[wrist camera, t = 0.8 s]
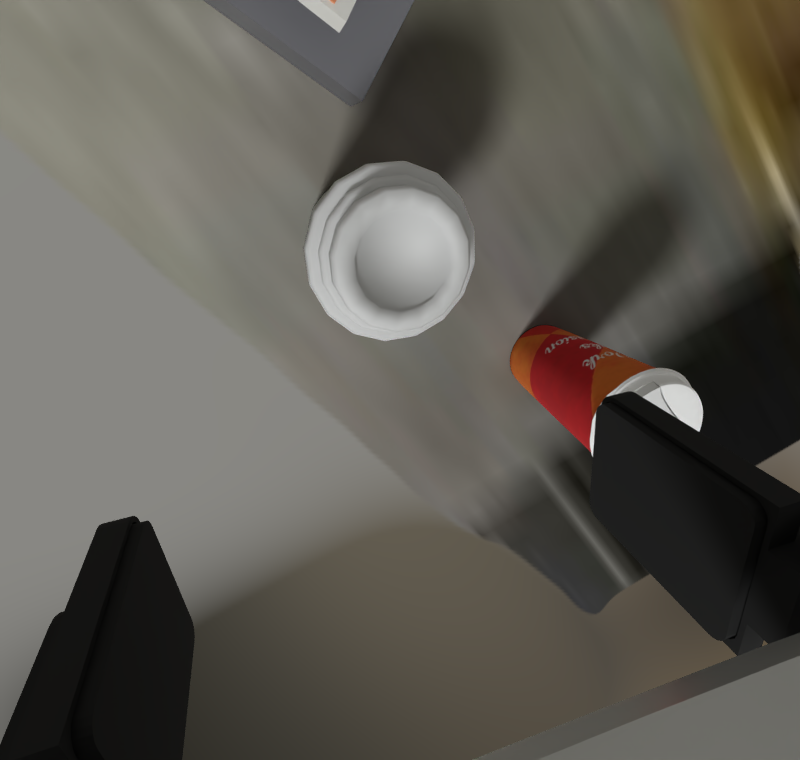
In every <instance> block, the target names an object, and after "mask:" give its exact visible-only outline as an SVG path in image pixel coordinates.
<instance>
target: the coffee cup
mask: <svg viewBox="0 0 800 760" xmlns="http://www.w3.org/2000/svg"><path fill="white" fill-rule="evenodd" d="M303 249H304V256H305V262H306V269H307V276H308V282H309V285H310V286H311V288H312V290H313V291H314V293H315V295H316V296H317V298H318V300H319V301H320V303H321V305H322V306H323V308H324V310H325V311H326V313H327V315H328V316H330V317H331V318H333V319H334V320H335V321H337V322H338V323H340V324H341V325H342V326H344V327H345V328H346V329H348V330H349V331H351V332H352V333H353V334H356V335H361V336H365V337H370V338H374V339H378V340H383V341H388V340H393V339H399V338H405V337H411V336H416V335H418V334H420V333H421V332H423V331H425V330H426V329H428V328H430V327H432V326H433V325H435V324H437V323H438V322H440V321H442V320H443V319H444V318H445V317H446V316H447V314H448V313H449V312H450V311H451V309H452V308H453V307H454V306H455V305H456V303H457V302H458V301H459V300H460V298H461V297H462V296H463V295H464V292H465V289H466V287H467V284H468V281H469V278H470V275H471V273H472V270H473V267H474V264H475V232H474V227H473V224H472V222H471V219H470V217H469V214H468V212H467V209H466V207H465V204H464V202H463V199H462V197H461V196H460V195H459V194H458V193H457V192H456V191H455V190H454V189H453V188H452V187H451V186H450V185H449V184H448V183H447V182H446V181H445V180H444V179H443V178H442V177H441V176H440V175H439V174H438V173H436V172H433V171H431V170H428V169H426V168H423V167H420V166H418V165H415V164H412V163H410V162H407V161H392V162H381V163H369V164H365V165H363V166H361V167H360V168H358V169H356V170H354V171H353V172H351V173H349V174H347V175H346V176H344V177H342V178H340V179H339V180H337V181H335V182H334V183H333V184H332V186H331V187H330V189H329V190H328V191H327V192H325V193H324V194H323V195H322V196H321V198H320V199H319V201H318V202H317V203H316V205H315V206H314V207H313V209H312V213H311V217H310V221H309V225H308V231H307V235H306V239H305V243H304V247H303Z"/></svg>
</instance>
